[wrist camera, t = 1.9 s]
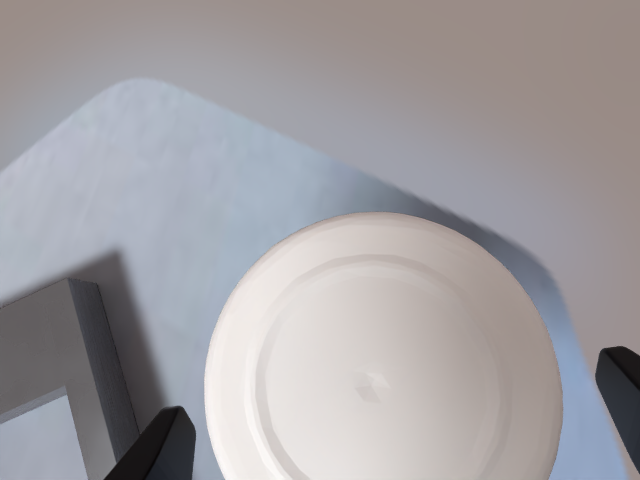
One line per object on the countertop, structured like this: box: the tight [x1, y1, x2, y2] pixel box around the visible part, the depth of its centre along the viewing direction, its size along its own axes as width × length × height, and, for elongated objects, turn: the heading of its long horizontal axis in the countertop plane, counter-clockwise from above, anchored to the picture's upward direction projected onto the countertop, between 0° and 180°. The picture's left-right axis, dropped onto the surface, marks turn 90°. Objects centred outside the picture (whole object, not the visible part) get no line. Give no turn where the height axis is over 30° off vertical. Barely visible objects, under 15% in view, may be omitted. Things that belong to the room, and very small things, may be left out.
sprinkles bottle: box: [204, 212, 563, 480], centre depth 12 cm, size 5×5×14 cm
